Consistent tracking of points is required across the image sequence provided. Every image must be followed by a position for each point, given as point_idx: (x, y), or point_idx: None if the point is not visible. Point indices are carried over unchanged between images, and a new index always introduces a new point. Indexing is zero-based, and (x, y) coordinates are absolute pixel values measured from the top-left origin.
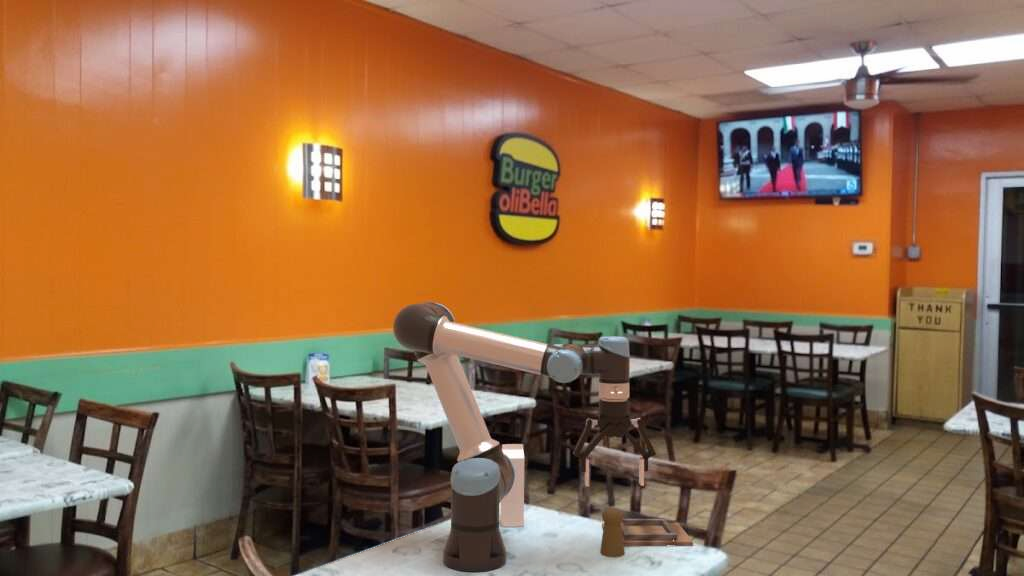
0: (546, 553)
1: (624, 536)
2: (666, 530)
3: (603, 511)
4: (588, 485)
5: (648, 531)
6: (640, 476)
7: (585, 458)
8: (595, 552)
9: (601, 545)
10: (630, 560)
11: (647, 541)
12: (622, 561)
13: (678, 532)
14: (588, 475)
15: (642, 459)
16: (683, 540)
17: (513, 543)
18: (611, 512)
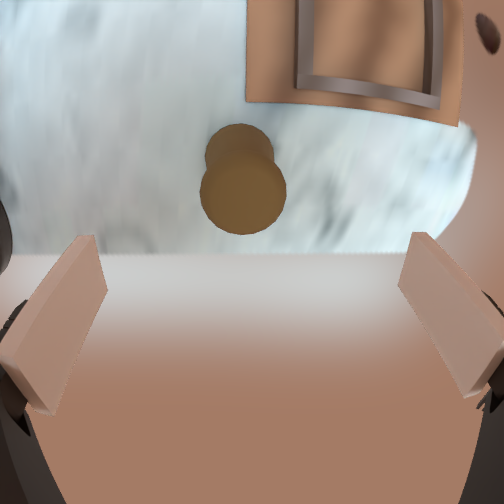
0: (70, 168)
1: (295, 77)
2: (426, 38)
3: (203, 197)
4: (103, 293)
5: (380, 21)
6: (422, 302)
7: (27, 417)
8: (192, 151)
9: (206, 164)
10: None
11: (357, 103)
12: None
13: (449, 51)
14: (84, 333)
15: (472, 394)
16: (443, 111)
17: (2, 109)
18: (233, 230)
